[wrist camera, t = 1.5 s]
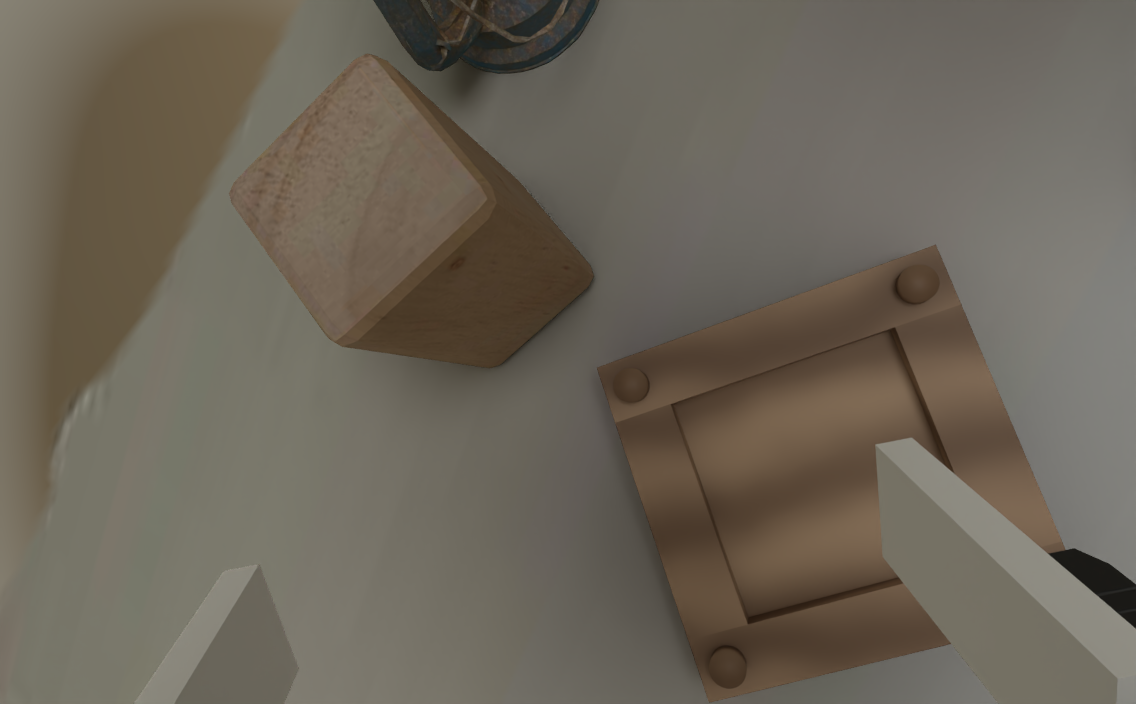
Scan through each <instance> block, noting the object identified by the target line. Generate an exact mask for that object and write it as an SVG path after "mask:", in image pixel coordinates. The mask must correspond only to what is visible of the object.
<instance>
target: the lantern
mask: <svg viewBox="0 0 1136 704" xmlns="http://www.w3.org/2000/svg"><path fill="white" fill-rule="evenodd" d="M427 1H428V3H429V4H430V6H431V9H432V13H433V16H434V20H435V22H434V21H433V19H432V18H431V17H430V16H429V14H428V13H427V11H426V9H425V8H424V6H423V4H422V2H421V1H420V0H374V2H375V3H376V5H377V6H378V8H379V9H380V11H381V13H382V14H383V16H384V17H385V19H386V20H387V22H388V24H389V25H390V27H391V28H392V30H393V31H394V33H395V35H396V36H397V38H398V39H399V41H400V42H401V44H402V46H403V47H404V48H405V49H406V51H407V52H408V53H409V54H410V55H411V57H412V58H413V59H414V60H415V61H416V63H417V64H418V65H420V66H421V67H423V68H425V69H427V70H429V71H442V70H444V69H445V68H447V67H449V66H451V65H452V64H454V63H456V61H457V60H458V59H459V58H461V59H462V60H464V61H465V62H467V63H469V64H470V65H472V66H474V67H476V68H479V69H482V70H485V71H490V72H495V73H510V72H522V71H525V70H528V69H532V68H534V67H537V66H540V65H543V64H545V63H548V62H550V61H551V60H552V59H554V58H555V57H556V56H558V55H559V54H560V53H561V52H562V51H564V50H565V49H566V48H567V47H568V46H570V45H571V44H572V43H573V42H574V41H575V40H577V39H578V37H579V36H580V34H581V33H582V31H583V29H584V28H585V26H586V24H587V23H588V21H589V20H590V18H591V16H592V15H593V13H594V11H595V9H596V6H597V4H598V1H599V0H427Z"/></svg>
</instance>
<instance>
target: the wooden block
mask: <svg viewBox="0 0 1136 704" xmlns="http://www.w3.org/2000/svg"><path fill="white" fill-rule="evenodd" d="M229 195H230V199H231V203H232V204H233V206H234V207H235V209H236V210H237V211H238V213H239V214H240V216H241V217H242V218H243V220H244V221H245V223H246V224H247V225H248V227H249V228H250V230H251V231H252V232H253V234H254V235H255V237H256V238H257V239H258V241H259V242H260V244H261V245H262V246H263V248H264V249H265V251H266V252H267V253H268V255H269V256H270V258H271V259H272V260H273V262H274V263H275V265H276V266H277V267H278V269H279V270H280V272H281V273H282V274H283V276H284V277H285V279H286V280H287V281H288V283H289V284H290V286H291V287H292V288H293V290H294V291H295V293H296V294H297V295H298V297H299V298H300V300H301V301H302V302H303V304H304V305H305V307H306V308H307V309H308V311H309V312H310V314H311V315H312V316H313V318H314V319H315V321H316V322H317V323H318V325H319V326H320V328H321V329H322V330H323V332H324V333H325V334H326V336H327V337H328V338H329V339H330V340H332V341H334V342H335V343H337V344H339V345H340V346H342V347H348V348H355V349H362V350H369V351H376V352H383V353H390V354H396V355H403V356H410V357H417V358H424V359H431V360H438V361H445V362H451V363H458V364H465V365H472V366H479V367H486V368H492V367H495V366H498V365H500V364H502V363H503V362H504V361H505V360H506V359H507V358H508V357H509V356H511V355H512V354H513V353H514V352H515V351H516V350H517V349H519V348H520V347H521V346H522V345H523V344H524V343H525V342H526V341H528V340H529V339H530V338H531V337H532V336H533V335H534V334H536V333H537V332H538V331H539V330H540V329H541V328H542V327H543V326H545V325H546V324H547V323H548V322H549V321H550V320H551V319H552V318H554V317H555V316H556V315H557V314H558V313H559V312H560V311H562V310H563V309H564V308H565V307H566V306H567V305H568V304H569V303H571V302H572V301H573V300H574V299H575V298H576V297H577V296H578V295H580V294H581V293H582V292H583V291H584V290H585V289H586V288H588V287H589V285H590V283H591V281H592V279H593V277H594V275H593V272H592V269H591V266H590V264H589V263H588V262H587V261H586V260H585V259H584V257H583V256H582V255H581V254H580V253H579V251H578V250H577V249H576V248H575V247H574V246H573V244H572V243H571V242H570V241H569V240H568V238H567V237H566V236H565V235H564V234H563V233H562V231H561V230H560V229H559V228H558V227H557V226H556V224H555V223H554V222H553V221H552V220H551V218H550V217H549V216H548V215H547V214H546V213H545V211H544V210H543V209H542V208H541V207H540V205H539V204H538V203H537V202H536V201H535V200H534V198H533V197H532V196H531V195H530V194H529V193H528V191H527V190H526V189H525V188H524V187H523V185H522V184H521V183H520V182H519V181H518V180H517V179H516V178H515V177H514V176H513V175H512V174H511V173H510V172H508V171H507V170H506V169H505V168H504V167H503V166H502V165H501V164H500V163H499V162H497V161H496V160H495V159H494V158H493V157H492V156H491V155H490V154H489V153H488V152H486V151H485V150H484V149H483V148H482V147H481V146H480V145H479V144H478V143H477V142H475V141H474V140H473V139H472V138H471V137H470V136H469V135H468V134H467V133H466V132H465V131H463V130H462V129H461V128H460V127H459V126H458V125H457V124H456V123H455V122H454V121H452V120H451V119H450V118H449V117H448V116H447V115H446V114H445V113H444V112H443V111H441V110H440V109H439V108H438V107H437V106H436V105H435V104H434V103H433V102H432V101H431V100H429V99H428V98H427V97H426V96H425V95H424V94H423V93H422V92H421V91H420V90H418V89H417V88H416V87H415V86H414V85H413V84H412V83H411V82H410V81H409V80H407V79H406V78H405V77H404V76H403V75H402V74H401V73H400V72H399V71H398V70H397V69H395V68H394V67H393V66H392V65H391V64H390V63H389V62H388V61H386V60H383V59H381V58H379V57H377V56H374V55H371V54H365V55H363V56H361V57H359V58H357V59H355V60H354V61H353V62H352V63H351V64H350V65H349V66H348V67H347V68H346V69H345V70H344V71H343V72H342V73H341V74H340V75H339V76H338V77H337V78H336V79H335V80H334V81H333V82H332V83H331V84H330V85H329V86H328V87H327V88H326V89H325V90H324V91H323V92H322V93H321V94H320V95H319V96H318V98H317V99H316V100H315V101H314V102H313V103H312V104H311V105H310V106H309V107H308V108H307V109H306V110H305V111H304V112H303V113H302V114H301V115H300V116H299V117H298V118H297V119H296V120H295V121H294V122H293V123H292V124H291V125H290V126H289V127H288V128H287V129H286V130H285V131H284V132H283V133H282V134H281V135H280V136H279V137H278V138H277V139H276V140H275V141H274V142H273V143H272V144H271V145H270V146H269V147H268V148H267V149H266V150H265V151H264V152H263V153H262V154H261V155H260V156H259V157H258V158H257V159H256V160H255V161H254V162H253V163H252V164H251V165H250V166H249V167H248V168H247V170H246V171H245V172H244V173H243V174H242V175H241V176H240V177H239V178H238V179H237V180H236V181H235V182H234V183H233V186H232V188H231V190H230V193H229Z"/></svg>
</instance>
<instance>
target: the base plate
mask: <svg viewBox="0 0 1136 704" xmlns="http://www.w3.org/2000/svg"><path fill="white" fill-rule="evenodd" d="M597 370H598V373H599V376H600V379H601V382H602V385H603V388H604V391H605V394H606V397H607V400H608V403H609V406H610V409H611V412H612V415H613V418H614V421H615V424H616V427H617V430H618V433H619V436H620V439H621V442H622V445H623V448H624V451H625V453H626V456H627V459H628V462H629V465H630V468H631V471H632V474H633V477H634V480H635V483H636V486H637V489H638V492H639V495H640V498H641V501H642V504H643V507H644V510H645V513H646V516H647V519H648V522H649V525H650V528H651V531H652V534H653V537H654V540H655V543H656V546H657V549H658V552H659V555H660V558H661V561H662V564H663V567H664V570H665V573H666V576H667V579H668V581H669V584H670V587H671V590H672V593H673V596H674V599H675V602H676V605H677V608H678V611H679V614H680V617H681V620H682V623H683V626H684V629H685V632H686V635H687V638H688V641H689V644H690V647H691V650H692V653H693V656H694V659H695V662H696V665H697V668H698V671H699V674H700V677H701V680H702V683H703V686H704V689H705V692H706V695H707V698H708V701H709V702H714V701H718V700H722V699H726V698H730V697H734V696H738V695H742V694H747V693H751V692H755V691H759V690H763V689H767V688H771V687H775V686H779V685H784V684H788V683H792V682H796V681H800V680H804V679H808V678H812V677H816V676H821V675H825V674H829V673H833V672H837V671H841V670H845V669H849V668H854V667H858V666H862V665H866V664H870V663H874V662H878V661H882V660H886V659H891V658H895V657H899V656H903V655H907V654H911V653H915V652H919V651H924V650H928V649H932V648H936V647H940V646H944V645H948V644H951V643H950V641H949V640H948V639H947V638H946V636H945V635H944V634H943V633H942V631H941V630H940V629H939V628H938V626H937V625H936V624H935V622H934V621H933V620H932V619H931V617H930V616H929V615H928V614H927V612H926V611H925V610H924V609H923V607H922V606H921V605H920V603H919V602H918V601H917V600H916V598H915V597H914V596H913V595H912V593H911V592H910V591H909V590H908V588H907V587H906V586H905V584H904V583H903V582H902V581H901V579H900V578H899V577H898V576H897V574H896V573H895V572H894V571H893V569H892V568H891V567H890V566H889V564H888V563H887V562H886V560H885V559H884V558H883V555H882V540H881V524H880V509H879V494H878V479H877V463H876V448H875V445H876V444H881V443H886V442H891V441H896V440H902V439H907V438H913V439H914V440H915V441H916V442H918V443H919V444H920V445H921V446H922V447H923V448H925V449H926V450H927V451H928V452H929V453H930V454H932V455H933V456H934V457H935V458H936V459H938V460H939V461H940V462H941V463H942V464H943V465H945V466H946V467H947V468H948V469H949V470H950V471H952V472H953V473H954V474H955V475H956V476H957V477H959V478H960V479H961V480H962V481H963V482H964V483H966V484H967V485H968V486H969V487H970V488H971V489H973V490H974V491H975V492H976V493H977V494H979V495H980V496H981V497H982V498H983V499H984V500H986V501H987V502H988V503H989V504H990V505H991V506H993V507H994V508H995V509H996V510H997V511H998V512H1000V513H1001V514H1002V515H1003V516H1004V517H1005V518H1007V519H1008V520H1009V521H1010V522H1011V523H1012V524H1014V525H1015V526H1016V527H1017V528H1018V529H1020V530H1021V531H1022V532H1023V533H1024V534H1025V535H1027V536H1028V537H1029V538H1030V539H1031V540H1032V541H1034V542H1035V543H1036V544H1037V545H1038V546H1039V547H1041V548H1042V549H1043V550H1044V551H1045V552H1046V553H1053V552H1058V551H1064V550H1065V547H1064V545H1063V543H1062V540H1061V538H1060V536H1059V533H1058V531H1057V529H1056V526H1055V524H1054V522H1053V519H1052V517H1051V515H1050V512H1049V510H1048V508H1047V505H1046V503H1045V500H1044V498H1043V496H1042V493H1041V491H1040V489H1039V486H1038V484H1037V482H1036V479H1035V477H1034V475H1033V472H1032V470H1031V468H1030V465H1029V463H1028V461H1027V458H1026V456H1025V453H1024V451H1023V449H1022V446H1021V444H1020V442H1019V439H1018V437H1017V435H1016V432H1015V430H1014V428H1013V425H1012V423H1011V421H1010V418H1009V416H1008V413H1007V411H1006V409H1005V406H1004V404H1003V402H1002V399H1001V397H1000V395H999V392H998V390H997V388H996V385H995V383H994V381H993V378H992V376H991V374H990V371H989V369H988V366H987V364H986V362H985V359H984V357H983V355H982V352H981V350H980V348H979V345H978V343H977V341H976V338H975V336H974V334H973V331H972V329H971V326H970V324H969V322H968V319H967V317H966V315H965V312H964V310H963V308H962V305H961V303H960V301H959V298H958V296H957V294H956V291H955V289H954V287H953V284H952V282H951V279H950V277H949V275H948V272H947V270H946V268H945V265H944V263H943V261H942V258H941V256H940V254H939V251H938V249H937V247H936V245H934V246H931V247H928V248H926V249H923V250H920V251H917V252H914V253H912V254H909V255H906V256H903V257H901V258H898V259H895V260H892V261H890V262H887V263H884V264H881V265H879V266H876V267H873V268H870V269H868V270H865V271H862V272H859V273H857V274H854V275H851V276H848V277H846V278H843V279H840V280H837V281H835V282H832V283H829V284H826V285H824V286H821V287H818V288H815V289H813V290H810V291H807V292H804V293H802V294H799V295H796V296H793V297H791V298H788V299H785V300H782V301H779V302H777V303H774V304H771V305H768V306H766V307H763V308H760V309H757V310H755V311H752V312H749V313H746V314H744V315H741V316H738V317H735V318H733V319H730V320H727V321H724V322H722V323H719V324H716V325H713V326H711V327H708V328H705V329H702V330H700V331H697V332H694V333H691V334H689V335H686V336H683V337H680V338H678V339H675V340H672V341H669V342H667V343H664V344H661V345H658V346H656V347H653V348H650V349H647V350H644V351H642V352H639V353H636V354H633V355H631V356H628V357H625V358H622V359H620V360H617V361H614V362H611V363H609V364H606V365H603V366H600V367H598V368H597Z"/></svg>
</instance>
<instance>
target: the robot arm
mask: <svg viewBox="0 0 1136 704" xmlns="http://www.w3.org/2000/svg"><path fill="white" fill-rule="evenodd" d="M875 448H876V463H877V479H878V494H879V509H880V524H881V540H882V555H883V558H884V559H885V560H886V562H887V563H888V564H889V566H890V567H891V568H892V569H893V571H894V572H895V573H896V574H897V576H898V577H899V578H900V579H901V581H902V582H903V583H904V584H905V586H906V587H907V588H908V590H909V591H910V592H911V593H912V595H913V596H914V597H915V598H916V600H917V601H918V602H919V603H920V605H921V606H922V607H923V609H924V610H925V611H926V612H927V614H928V615H929V616H930V617H931V619H932V620H933V621H934V622H935V624H936V625H937V626H938V628H939V629H940V630H941V631H942V633H943V634H944V635H945V636H946V638H947V639H948V640H949V641H950V643H951V644H952V645H953V647H954V648H955V649H956V650H957V652H958V653H959V654H960V655H961V657H962V658H963V659H964V660H965V662H966V663H967V664H968V666H969V667H970V668H971V669H972V671H973V672H974V673H975V674H976V676H977V677H978V678H979V679H980V681H981V682H982V683H983V685H984V686H985V687H986V688H987V690H988V691H989V692H990V693H991V695H992V696H993V697H994V698H995V700H996V701H997V702H998V704H1136V584H1135V583H1133V582H1132V581H1131V580H1129V579H1128V578H1127V577H1126V576H1124V575H1123V574H1122V573H1120V572H1119V571H1118V570H1117V569H1115V568H1114V567H1113V566H1111V565H1110V564H1108V563H1106V562H1104V561H1101V560H1099V559H1097V558H1095V557H1092V556H1090V555H1088V554H1086V553H1083V552H1081V551H1079V550H1077V549H1069V550H1064V551H1058V552H1053V553H1046V552H1045V551H1044V550H1043V549H1042V548H1041V547H1039V546H1038V545H1037V544H1036V543H1035V542H1034V541H1032V540H1031V539H1030V538H1029V537H1028V536H1027V535H1025V534H1024V533H1023V532H1022V531H1021V530H1020V529H1018V528H1017V527H1016V526H1015V525H1014V524H1012V523H1011V522H1010V521H1009V520H1008V519H1007V518H1005V517H1004V516H1003V515H1002V514H1001V513H1000V512H998V511H997V510H996V509H995V508H994V507H993V506H991V505H990V504H989V503H988V502H987V501H986V500H984V499H983V498H982V497H981V496H980V495H979V494H977V493H976V492H975V491H974V490H973V489H971V488H970V487H969V486H968V485H967V484H966V483H964V482H963V481H962V480H961V479H960V478H959V477H957V476H956V475H955V474H954V473H953V472H952V471H950V470H949V469H948V468H947V467H946V466H945V465H943V464H942V463H941V462H940V461H939V460H938V459H936V458H935V457H934V456H933V455H932V454H930V453H929V452H928V451H927V450H926V449H925V448H923V447H922V446H921V445H920V444H919V443H918V442H916V441H915V440H914V439H913V438H907V439H902V440H896V441H891V442H886V443H881V444H876V445H875ZM298 669H299V667H298V665H297V662H296V660H295V657H294V654H293V652H292V649H291V646H290V644H289V641H288V639H287V636H286V633H285V631H284V628H283V625H282V623H281V620H280V617H279V615H278V612H277V610H276V607H275V604H274V602H273V599H272V596H271V594H270V591H269V589H268V586H267V583H266V581H265V578H264V575H263V573H262V570H261V568H260V565H259V564H257V565H252V566H246V567H241V568H236V569H231V570H226V571H223V573H222V574H221V576H220V577H219V579H218V580H217V582H216V583H215V585H214V586H213V587H212V589H211V590H210V592H209V593H208V595H207V596H206V598H205V599H204V601H203V602H202V604H201V605H200V607H199V608H198V610H197V611H196V613H195V614H194V615H193V617H192V618H191V620H190V621H189V623H188V624H187V626H186V627H185V629H184V630H183V632H182V633H181V635H180V636H179V638H178V639H177V641H176V642H175V643H174V645H173V646H172V648H171V649H170V651H169V652H168V654H167V655H166V657H165V658H164V660H163V661H162V663H161V664H160V666H159V667H158V669H157V670H156V671H155V673H154V674H153V676H152V677H151V679H150V680H149V682H148V683H147V685H146V686H145V688H144V689H143V691H142V692H141V694H140V695H139V697H138V698H137V699H136V701H135V702H134V704H284V702H285V700H286V698H287V695H288V693H289V691H290V688H291V686H292V684H293V681H294V679H295V676H296V674H297V672H298Z"/></svg>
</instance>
